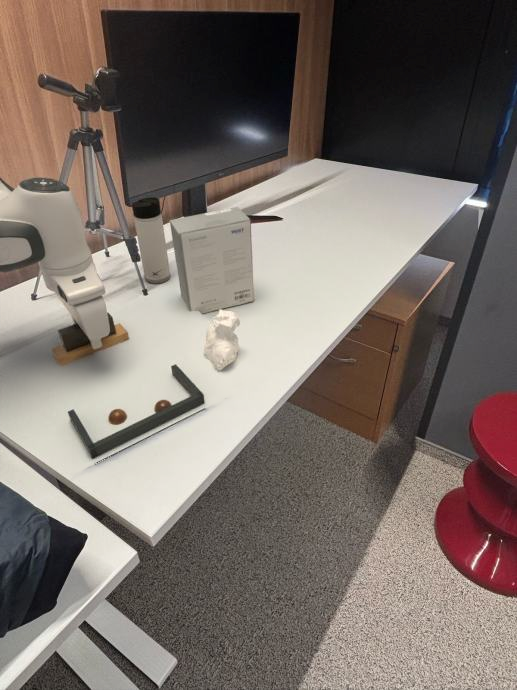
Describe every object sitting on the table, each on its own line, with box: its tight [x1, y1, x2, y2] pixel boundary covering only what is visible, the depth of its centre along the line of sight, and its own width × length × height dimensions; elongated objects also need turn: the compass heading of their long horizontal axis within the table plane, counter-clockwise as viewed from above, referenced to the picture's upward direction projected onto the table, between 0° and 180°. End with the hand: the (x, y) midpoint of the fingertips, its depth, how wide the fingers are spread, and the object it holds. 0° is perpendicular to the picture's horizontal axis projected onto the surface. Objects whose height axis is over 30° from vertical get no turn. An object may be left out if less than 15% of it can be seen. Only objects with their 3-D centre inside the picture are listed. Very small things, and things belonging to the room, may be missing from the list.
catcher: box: [67, 363, 206, 465], centre depth 81 cm, size 20×10×4 cm, turn 126°
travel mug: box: [131, 197, 171, 285], centre depth 113 cm, size 6×7×20 cm
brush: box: [51, 311, 130, 367], centre depth 94 cm, size 14×4×7 cm, turn 126°
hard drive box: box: [168, 206, 255, 315], centre depth 104 cm, size 16×8×20 cm, turn 113°
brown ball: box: [153, 399, 173, 414], centre depth 82 cm, size 3×3×3 cm
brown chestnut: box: [107, 408, 128, 426], centre depth 80 cm, size 3×3×3 cm
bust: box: [203, 309, 241, 372], centre depth 92 cm, size 12×8×11 cm
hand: (87, 334), depth 93 cm, fingers open, 8 cm apart
